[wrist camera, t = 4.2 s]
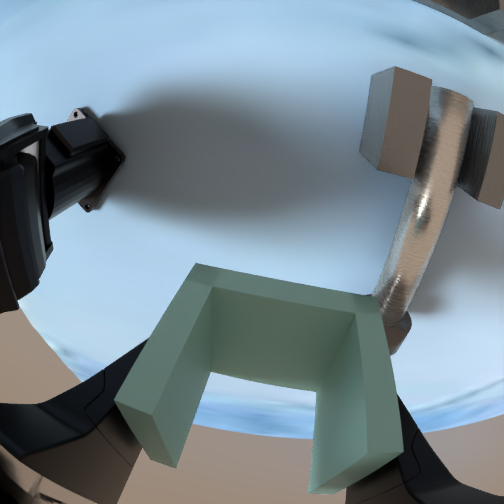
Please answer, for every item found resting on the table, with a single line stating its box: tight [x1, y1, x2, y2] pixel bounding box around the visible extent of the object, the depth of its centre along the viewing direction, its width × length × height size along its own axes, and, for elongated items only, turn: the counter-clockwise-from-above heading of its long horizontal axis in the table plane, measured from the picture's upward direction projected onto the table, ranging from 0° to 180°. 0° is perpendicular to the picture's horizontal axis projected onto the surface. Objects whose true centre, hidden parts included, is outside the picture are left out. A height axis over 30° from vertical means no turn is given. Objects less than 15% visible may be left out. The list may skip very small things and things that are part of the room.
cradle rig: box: [359, 0, 504, 209], centre depth 9 cm, size 16×8×5 cm, turn 174°
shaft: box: [365, 86, 474, 356], centre depth 14 cm, size 16×4×4 cm, turn 174°
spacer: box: [114, 263, 404, 494], centre depth 8 cm, size 4×6×6 cm
